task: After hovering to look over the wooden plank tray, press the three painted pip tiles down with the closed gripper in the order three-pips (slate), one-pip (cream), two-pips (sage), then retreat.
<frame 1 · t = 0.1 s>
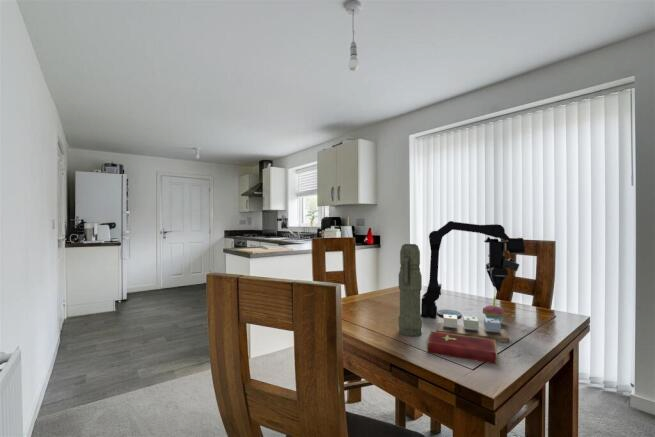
hand: (496, 288, 138), 15 cm above the table, fingers open, 9 cm apart
moai stone figurine: (410, 333, 125), on the table
tile three: (492, 324, 121), point 5 cm above the table, slide at 0.0 cm
wooden plank tray: (470, 333, 124), on the table
tile one: (450, 320, 126), point 5 cm above the table, slide at 0.0 cm
cupcake: (493, 322, 138), on the table
hardcover book: (461, 353, 107), on the table
tile two: (470, 322, 124), point 5 cm above the table, slide at 0.0 cm
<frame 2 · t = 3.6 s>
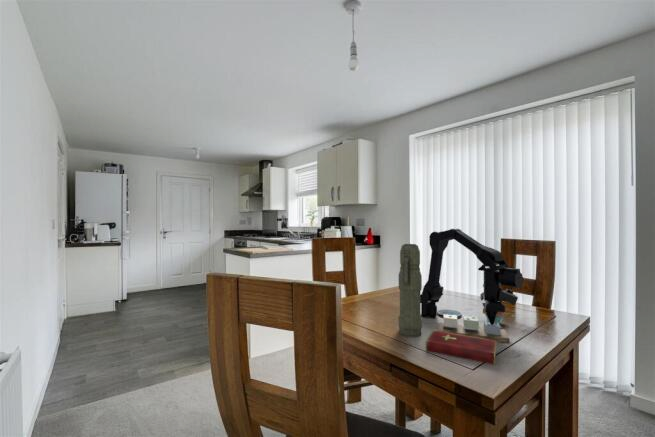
hand: (491, 324, 121), 5 cm above the table, fingers closed, pressing on tile three
tile three: (492, 328, 121), point 3 cm above the table, slide at 1.5 cm, touching gripper, wooden plank tray
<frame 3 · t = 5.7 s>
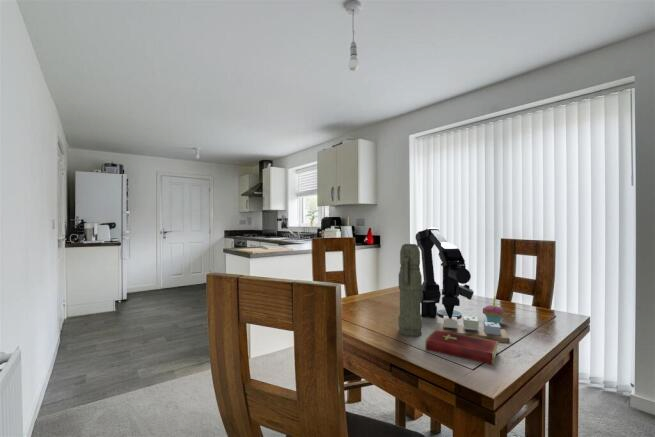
hand: (450, 317, 126), 5 cm above the table, fingers closed, pressing on tile one
tile three: (492, 328, 121), point 3 cm above the table, slide at 1.5 cm, touching wooden plank tray
tile one: (450, 321, 126), point 4 cm above the table, slide at 0.7 cm, touching gripper
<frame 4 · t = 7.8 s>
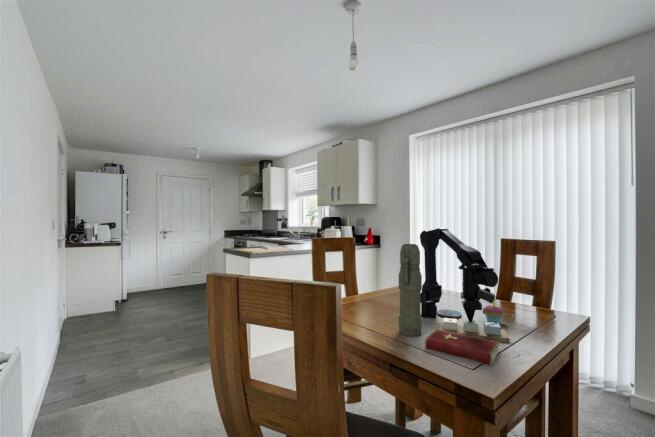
hand: (470, 321, 124), 5 cm above the table, fingers closed, pressing on tile two
tile one: (450, 323, 126), point 3 cm above the table, slide at 1.5 cm, touching wooden plank tray
tile two: (470, 325, 124), point 3 cm above the table, slide at 1.3 cm, touching gripper
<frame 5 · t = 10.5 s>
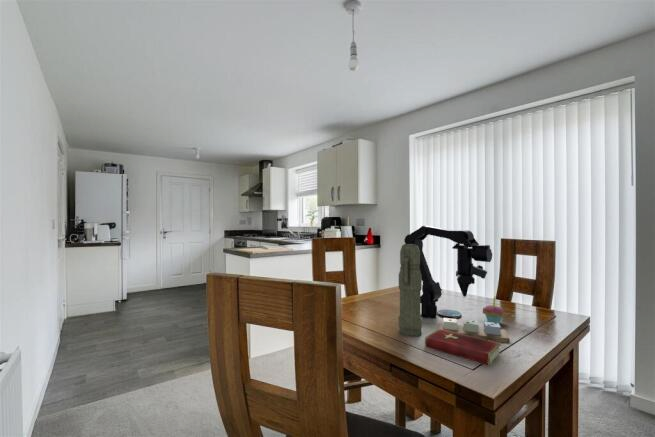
hand: (464, 296, 135), 12 cm above the table, fingers closed
tile two: (470, 325, 124), point 3 cm above the table, slide at 1.5 cm, touching wooden plank tray
at the end: tile three slide at 1.5 cm; tile one slide at 1.5 cm; tile two slide at 1.5 cm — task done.
